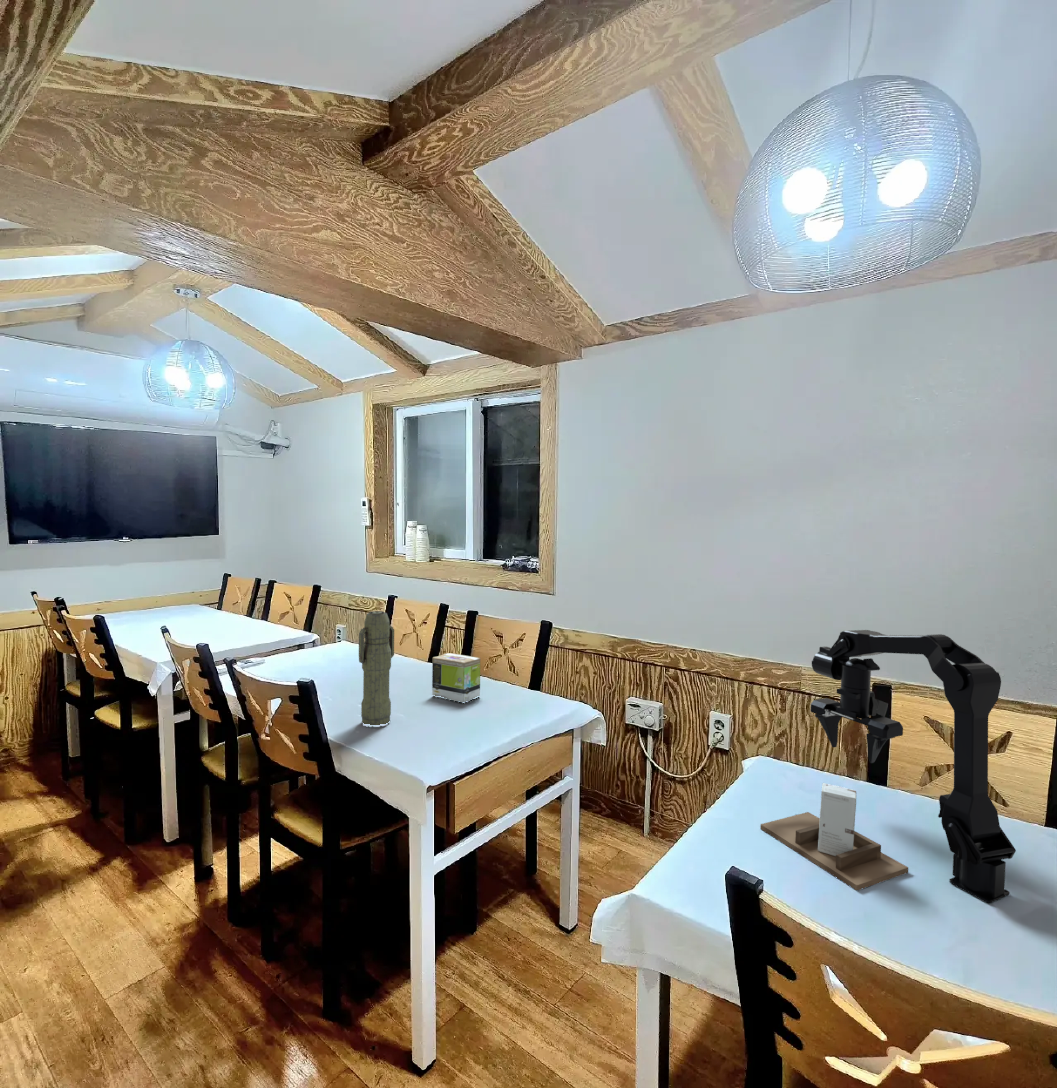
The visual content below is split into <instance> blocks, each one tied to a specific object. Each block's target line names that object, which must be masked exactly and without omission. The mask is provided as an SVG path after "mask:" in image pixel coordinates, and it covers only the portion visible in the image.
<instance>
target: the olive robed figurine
mask: <svg viewBox="0 0 1057 1088" xmlns="http://www.w3.org/2000/svg"><path fill="white" fill-rule="evenodd" d="M363 626H364V627H363V628H361V629H360V630H359V632H358V662H359V663H360V664H361V669H362V672H363V676H362V677H363V686H362V687H363V688H362V689H363V696H362V701H361V706H360V707H361V713H360V714H361V723H362V722H363V723H364V724H370V725H380V724H386V723H388V722H389V721H390V722H391V713H392V701H391V698H390V670H391V667H392V659H393V657H394V656H395V628H394V627H393V626H392V625H390V618H389V616H388V613H387V612H385V611H380V610H377V611H376V610H374V611H370V612H368V613H367V614H366V616H365V620H364V625H363Z"/></svg>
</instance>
